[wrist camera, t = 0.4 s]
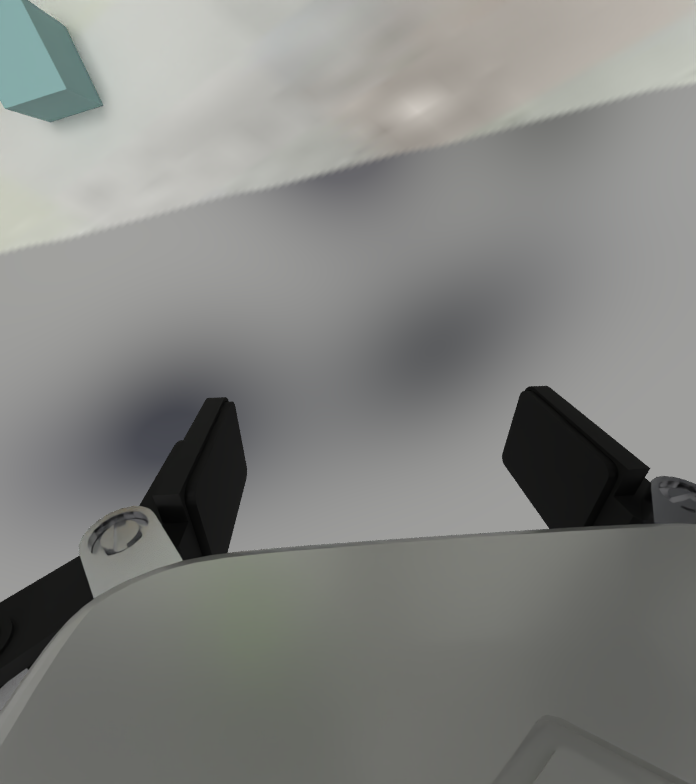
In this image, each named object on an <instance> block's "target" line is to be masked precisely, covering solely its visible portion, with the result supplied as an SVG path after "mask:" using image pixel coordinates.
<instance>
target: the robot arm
mask: <svg viewBox="0 0 696 784" xmlns="http://www.w3.org/2000/svg"><path fill="white" fill-rule="evenodd" d="M502 459H503V463H504V465H505V466H506V468H507V469H508V471H509V472H510V473H511V475H512V476H513V478H514V479H515V481H516V482H517V483H518V485H519V486H520V488H521V489H522V491H523V492H524V493H525V495H526V496H527V498H528V499H529V500H530V502H531V503H532V505H533V506H534V508H535V509H536V510H537V512H538V513H539V514H540V516H541V517H542V519H543V520H544V522H545V523H546V524H547V526H548V527H549V529H542V530H525V531H509V532H495V533H479V534H463V535H448V536H434V537H419V538H405V539H390V540H376V541H362V542H349V543H335V544H321V545H308V546H296V547H284V548H272V549H261V550H250V551H240V552H232V553H227V552H228V548H229V544H230V540H231V536H232V533H233V529H234V524H235V521H236V517H237V513H238V509H239V505H240V501H241V497H242V493H243V489H244V486H245V482H246V476H247V466H246V461H245V456H244V450H243V445H242V440H241V435H240V429H239V424H238V419H237V413H236V408H235V404H234V402H229V401H228V399H227V398H226V397H224V398H223V397H222V398H207V399H206V400H205V402H204V404H203V406H202V408H201V409H200V411H199V413H198V415H197V416H196V418H195V420H194V422H193V424H192V425H191V427H190V429H189V431H188V433H187V434H186V436H185V438H184V440H181V441H178V442H177V443H176V444H175V445H174V447H173V449H172V451H171V453H170V454H169V456H168V457H167V459H166V461H165V463H164V464H163V466H162V468H161V470H160V471H159V473H158V475H157V476H156V478H155V480H154V482H153V483H152V485H151V487H150V489H149V490H148V492H147V493H146V495H145V497H144V499H143V500H142V502H141V504H140V506H131V507H127V508H121V509H119V510H116V511H114V512H111V513H109V514H108V515H106V516H104V517H103V518H101V519H99V520H98V521H97V522H96V523H95V524H93V525H92V526H91V527H90V528H89V529H88V530H87V532H86V533H85V534H84V535H83V537H82V539H81V541H80V544H79V555H80V556H78V557H76V558H75V559H73V560H71V561H70V562H68V563H66V564H65V565H63V566H61V567H60V568H58V569H56V570H55V571H53V572H51V573H49V574H48V575H46V576H44V577H43V578H41V579H39V580H37V581H36V582H34V583H33V584H31V585H29V586H27V587H26V588H24V589H23V590H21V591H19V592H17V593H16V594H14V595H12V596H10V597H9V598H7V599H5V600H4V601H2V602H0V784H696V484H694V483H692V482H689V481H687V480H683V479H680V478H676V477H668V476H660V477H656V478H654V479H653V480H652V481H651V482H649V481H648V480H647V479H646V478H645V476H646V474H647V473H648V471H649V469H650V468H649V467H648V466H647V465H645V464H644V463H643V462H642V461H640V460H639V459H638V458H637V457H635V456H634V455H633V454H632V453H630V452H629V451H628V450H627V449H625V448H624V447H623V446H622V445H621V444H619V443H618V442H617V441H616V440H614V439H613V438H612V437H611V436H609V435H608V434H607V433H606V432H604V431H603V430H602V429H601V428H599V427H598V426H597V425H596V424H594V423H593V422H592V421H591V420H589V419H588V418H587V417H586V416H585V415H583V414H582V413H581V412H580V411H578V410H577V409H576V408H574V407H573V406H572V405H571V404H570V403H568V402H567V401H566V400H565V399H563V398H562V397H561V396H560V395H558V394H557V393H556V392H555V391H553V390H552V389H551V388H550V387H548V386H531V387H528V388H526V390H525V391H523V392H522V393H521V394H520V396H519V400H518V403H517V407H516V410H515V413H514V417H513V420H512V424H511V427H510V430H509V434H508V437H507V440H506V444H505V447H504V451H503V454H502Z"/></svg>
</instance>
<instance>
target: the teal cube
mask: <svg viewBox="0 0 696 784" xmlns="http://www.w3.org/2000/svg"><path fill="white" fill-rule="evenodd" d="M0 101H1V103H2V104H3V106H4V108H5V109H8V110H11V111H15V112H18V113H21V114H25V115H28V116H31V117H35V118H38V119H41V120H45V121H48V122H52V121H55V120H58V119H62V118H65V117H68V116H71V115H74V114H77V113H81V112H84V111H87V110H90V109H93V108H96V107H100V106H103V104H102V102H101V100H100V98H99V96H98V94H97V91H96V89H95V87H94V85H93V83H92V81H91V79H90V77H89V75H88V73H87V71H86V68H85V66H84V64H83V62H82V60H81V58H80V56H79V54H78V52H77V50H76V48H75V45H74V43H73V41H72V39H71V37H70V35H69V33H68V31H67V29H66V27H65V26H64V25H63V24H61V23H60V22H58V21H57V20H55V19H54V18H53V17H51V16H50V15H48V14H47V13H45V12H44V11H42V10H41V9H40V8H38V7H37V6H35V5H34V4H32V3H31V2H30V1H28V0H0Z"/></svg>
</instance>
